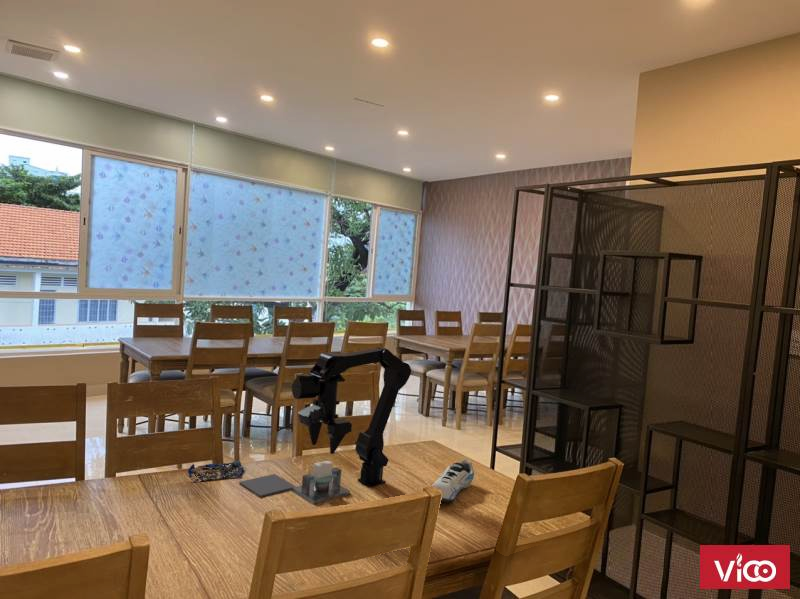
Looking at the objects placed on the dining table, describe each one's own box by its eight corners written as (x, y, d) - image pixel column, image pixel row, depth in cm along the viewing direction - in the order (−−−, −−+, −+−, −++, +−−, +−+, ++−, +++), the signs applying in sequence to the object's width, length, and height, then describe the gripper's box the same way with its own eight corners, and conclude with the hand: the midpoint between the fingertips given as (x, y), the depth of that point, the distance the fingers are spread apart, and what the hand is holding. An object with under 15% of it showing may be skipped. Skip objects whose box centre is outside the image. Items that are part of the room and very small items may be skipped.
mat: (274, 475, 176) (274, 473, 176) (295, 488, 168) (295, 486, 168) (239, 483, 168) (239, 481, 168) (259, 497, 160) (259, 495, 159)
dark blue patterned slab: (191, 485, 166) (191, 480, 166) (186, 468, 177) (186, 464, 177) (247, 479, 174) (248, 474, 174) (239, 464, 185) (239, 459, 185)
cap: (329, 472, 172) (330, 457, 171) (341, 479, 167) (342, 463, 167) (302, 479, 165) (303, 463, 165) (314, 486, 161) (315, 469, 160)
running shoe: (418, 504, 164) (420, 473, 163) (451, 479, 186) (453, 452, 185) (446, 512, 160) (449, 481, 159) (477, 485, 182) (479, 458, 181)
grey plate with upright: (327, 481, 175) (329, 462, 174) (349, 494, 167) (351, 474, 167) (291, 491, 166) (293, 471, 165) (313, 504, 158) (315, 483, 158)
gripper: (286, 392, 166) (282, 444, 167) (322, 406, 153) (318, 463, 153) (317, 389, 174) (313, 439, 175) (355, 402, 160) (350, 456, 161)
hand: (322, 449), depth 166 cm, fingers open, 9 cm apart
